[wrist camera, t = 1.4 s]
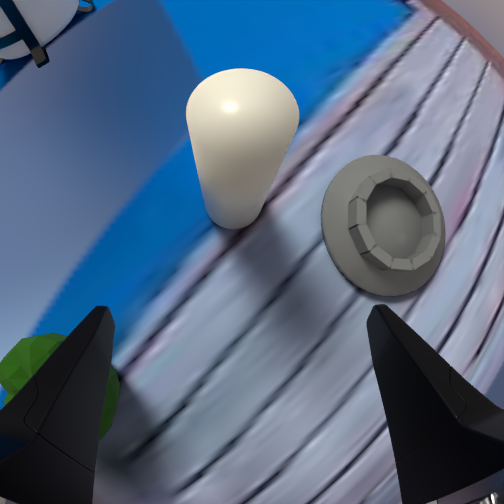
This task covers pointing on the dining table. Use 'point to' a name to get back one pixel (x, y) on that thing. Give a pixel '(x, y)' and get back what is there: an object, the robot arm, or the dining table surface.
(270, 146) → the candle
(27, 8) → the coffee press
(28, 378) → the bell pepper
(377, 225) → the holder
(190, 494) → the dining table surface
